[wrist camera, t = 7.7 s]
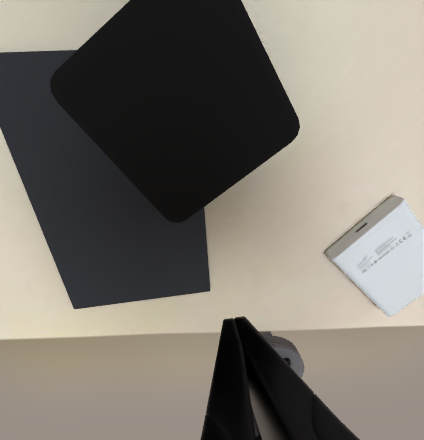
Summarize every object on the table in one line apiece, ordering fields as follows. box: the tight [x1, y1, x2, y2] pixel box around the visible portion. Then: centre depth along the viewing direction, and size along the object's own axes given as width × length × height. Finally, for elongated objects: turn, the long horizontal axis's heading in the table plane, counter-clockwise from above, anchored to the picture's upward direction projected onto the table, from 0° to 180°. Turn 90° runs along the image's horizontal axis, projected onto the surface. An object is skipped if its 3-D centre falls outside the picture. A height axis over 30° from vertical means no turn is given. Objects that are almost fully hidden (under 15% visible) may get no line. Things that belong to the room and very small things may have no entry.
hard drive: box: [325, 195, 424, 316], centre depth 24 cm, size 2×8×12 cm
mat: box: [0, 50, 210, 309], centre depth 18 cm, size 20×13×1 cm, turn 3°
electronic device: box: [50, 0, 300, 223], centre depth 14 cm, size 4×10×10 cm
